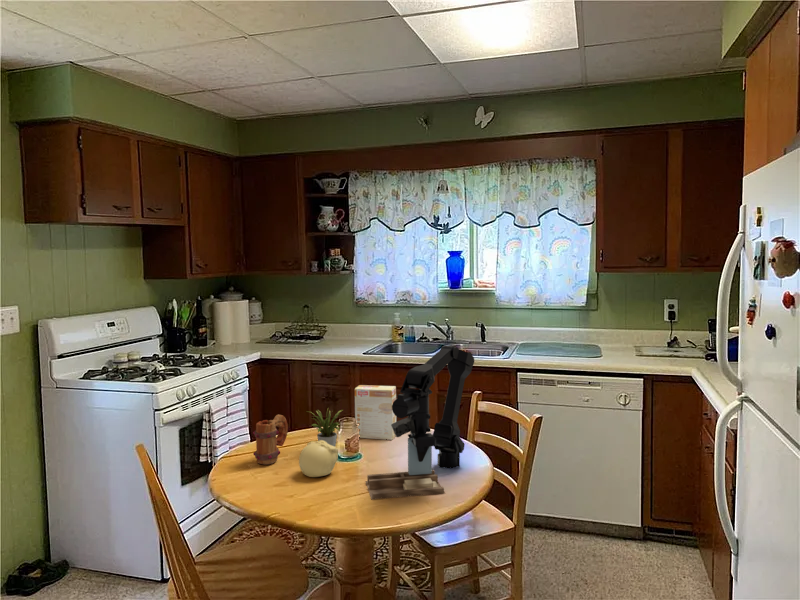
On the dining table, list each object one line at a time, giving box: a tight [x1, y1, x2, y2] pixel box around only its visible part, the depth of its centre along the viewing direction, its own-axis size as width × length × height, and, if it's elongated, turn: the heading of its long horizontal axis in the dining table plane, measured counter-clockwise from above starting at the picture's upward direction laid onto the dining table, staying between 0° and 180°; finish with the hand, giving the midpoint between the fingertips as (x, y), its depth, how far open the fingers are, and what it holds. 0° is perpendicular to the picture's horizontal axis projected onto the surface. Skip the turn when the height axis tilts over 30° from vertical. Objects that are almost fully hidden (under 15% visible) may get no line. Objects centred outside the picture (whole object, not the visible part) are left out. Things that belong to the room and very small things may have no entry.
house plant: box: [307, 406, 344, 447], centre depth 219 cm, size 14×14×16 cm
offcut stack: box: [403, 478, 439, 490], centre depth 182 cm, size 10×4×2 cm, turn 100°
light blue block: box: [407, 437, 433, 475], centre depth 187 cm, size 7×2×11 cm, turn 100°
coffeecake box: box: [354, 384, 397, 441], centre depth 236 cm, size 15×7×20 cm, turn 77°
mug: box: [252, 414, 289, 466], centre depth 211 cm, size 15×8×15 cm, turn 148°
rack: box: [364, 469, 446, 500], centre depth 184 cm, size 22×14×4 cm, turn 100°
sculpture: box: [298, 440, 339, 478], centre depth 198 cm, size 12×12×11 cm
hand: (419, 460), depth 187 cm, fingers closed on light blue block, 2 cm apart
